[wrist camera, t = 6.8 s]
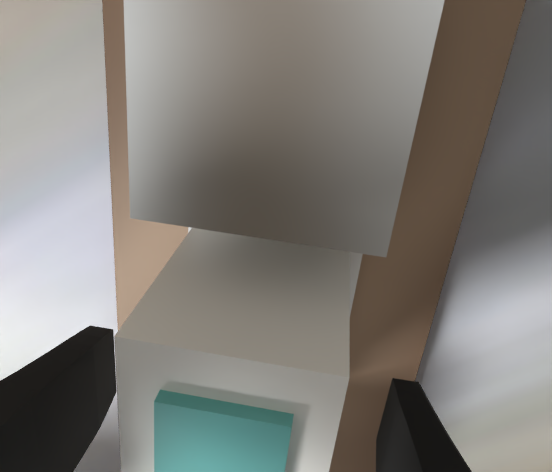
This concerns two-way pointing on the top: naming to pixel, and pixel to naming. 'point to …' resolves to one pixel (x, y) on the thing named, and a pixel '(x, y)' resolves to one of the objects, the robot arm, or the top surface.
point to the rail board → (414, 222)
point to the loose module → (236, 358)
